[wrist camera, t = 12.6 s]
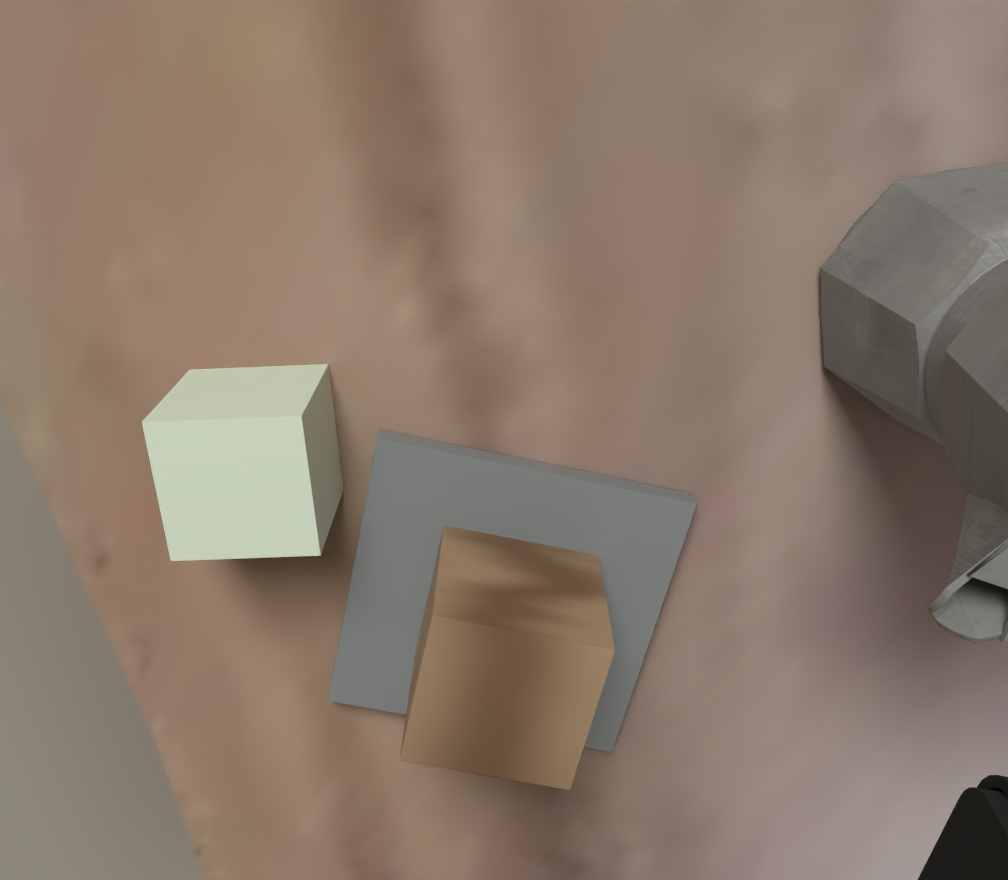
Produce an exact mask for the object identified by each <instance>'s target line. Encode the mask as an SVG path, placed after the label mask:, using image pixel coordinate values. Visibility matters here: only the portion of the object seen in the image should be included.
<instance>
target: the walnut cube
mask: <svg viewBox="0 0 1008 880" xmlns="http://www.w3.org/2000/svg"><path fill="white" fill-rule="evenodd" d="M614 652H615V646H614V641H613V635H612V629H611V623H610V617H609V612H608V606H607V600H606V594H605V588H604V583H603V577H602V571H601V565H600V559H599V555H594V554H589V553H584V552H579V551H574V550H569V549H564V548H559V547H553V546H548V545H543V544H538V543H533V542H528V541H523V540H518V539H512V538H507V537H502V536H497V535H492V534H487V533H482V532H477V531H471V530H466V529H461V528H456V527H451V526H446V525H444V526H443V531H442V535H441V540H440V544H439V549H438V553H437V558H436V562H435V567H434V571H433V576H432V580H431V585H430V589H429V594H428V598H427V603H426V607H425V612H424V616H423V621H422V625H421V630H420V634H419V639H418V643H417V648H416V652H415V658H414V665H413V672H412V679H411V685H410V692H409V699H408V706H407V713H406V720H405V727H404V733H403V740H402V747H401V754H400V761H405V762H411V763H417V764H423V765H428V766H434V767H440V768H446V769H451V770H457V771H463V772H469V773H474V774H480V775H486V776H492V777H497V778H503V779H509V780H515V781H520V782H526V783H532V784H538V785H544V786H549V787H555V788H561V789H567V790H570V789H571V785H572V782H573V779H574V776H575V773H576V770H577V767H578V764H579V761H580V758H581V754H582V751H583V748H584V745H585V742H586V739H587V736H588V733H589V730H590V726H591V723H592V720H593V717H594V714H595V711H596V708H597V705H598V702H599V698H600V695H601V692H602V689H603V686H604V683H605V680H606V677H607V674H608V671H609V667H610V664H611V661H612V658H613V655H614Z"/></svg>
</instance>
